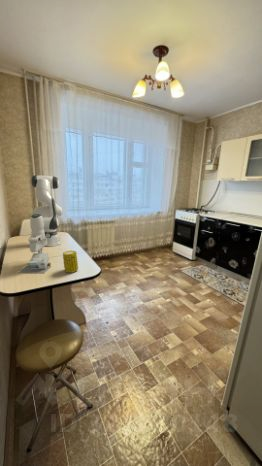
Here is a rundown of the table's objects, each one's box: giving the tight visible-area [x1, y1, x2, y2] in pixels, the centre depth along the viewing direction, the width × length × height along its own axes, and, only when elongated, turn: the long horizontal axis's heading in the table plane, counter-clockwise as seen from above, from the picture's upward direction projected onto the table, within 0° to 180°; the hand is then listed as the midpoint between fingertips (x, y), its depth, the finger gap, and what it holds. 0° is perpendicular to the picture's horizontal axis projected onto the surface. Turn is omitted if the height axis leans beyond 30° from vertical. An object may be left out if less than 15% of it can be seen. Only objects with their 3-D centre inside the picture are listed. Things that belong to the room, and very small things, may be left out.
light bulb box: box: [28, 252, 50, 270], centre depth 142 cm, size 11×7×11 cm
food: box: [62, 250, 79, 274], centre depth 138 cm, size 15×12×10 cm
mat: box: [17, 264, 52, 274], centre depth 140 cm, size 12×18×1 cm, turn 90°
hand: (40, 253), depth 147 cm, fingers closed
